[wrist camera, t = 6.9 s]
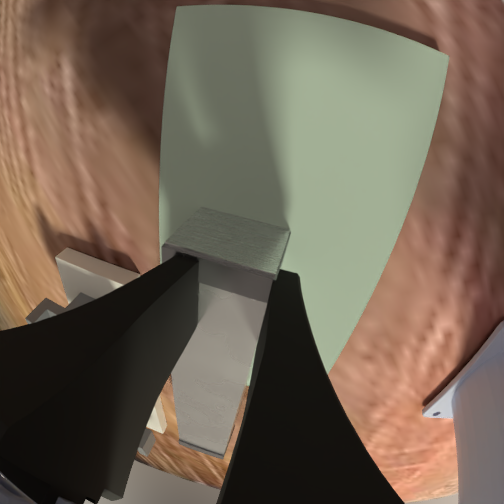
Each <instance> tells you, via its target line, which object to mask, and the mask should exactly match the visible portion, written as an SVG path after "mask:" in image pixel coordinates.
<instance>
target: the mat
mask: <svg viewBox="0 0 504 504" xmlns="http://www.w3.org/2000/svg"><path fill="white" fill-rule="evenodd" d="M448 62H449V56H448V55H446V54H444V53H441V52H439V51H437V50H435V49H433V48H430V47H428V46H425V45H423V44H421V43H418V42H416V41H413V40H410V39H408V38H405V37H402V36H400V35H397V34H394V33H391V32H388V31H385V30H382V29H379V28H375V27H372V26H369V25H365V24H361V23H358V22H354V21H350V20H346V19H341V18H337V17H332V16H328V15H323V14H317V13H312V12H306V11H299V10H292V9H284V8H275V7H264V6H249V5H192V6H177V8H176V13H175V19H174V25H173V31H172V37H171V44H170V51H169V59H168V66H167V75H166V84H165V94H164V105H163V117H162V132H161V150H160V179H159V238H160V264H162V252H161V246H162V245H163V244H164V243H165V241H166V240H167V239H168V238H169V237H170V236H171V235H172V234H173V233H174V232H175V231H176V230H177V229H178V228H179V227H180V226H181V225H182V224H183V223H185V222H186V221H187V220H188V219H189V218H190V217H191V216H192V215H193V214H194V213H195V212H196V211H197V210H198V209H199V208H200V207H205V208H210V209H214V210H218V211H222V212H225V213H229V214H233V215H237V216H241V217H245V218H249V219H253V220H257V221H260V222H264V223H268V224H272V225H275V226H279V227H283V228H287V229H290V232H291V235H290V239H289V243H288V246H287V250H286V254H285V257H284V260H283V263H282V267H281V269H282V270H286V271H290V272H294V273H298V275H299V276H300V282H301V290H302V295H303V300H304V304H305V309H306V312H307V316H308V320H309V323H310V326H311V330H312V333H313V336H314V340H315V343H316V346H317V348H318V351H319V354H320V357H321V359H322V362H323V365H324V367H325V370H326V372H327V375H328V373H329V371H330V370H331V368H332V366H333V365H334V363H335V361H336V360H337V358H338V356H339V355H340V353H341V351H342V350H343V348H344V346H345V344H346V343H347V341H348V339H349V337H350V335H351V334H352V332H353V330H354V328H355V326H356V324H357V322H358V321H359V319H360V317H361V315H362V313H363V311H364V309H365V307H366V305H367V303H368V301H369V299H370V297H371V295H372V293H373V291H374V289H375V287H376V285H377V283H378V281H379V279H380V276H381V274H382V272H383V270H384V268H385V265H386V263H387V261H388V259H389V256H390V254H391V252H392V250H393V247H394V245H395V242H396V240H397V238H398V235H399V233H400V230H401V228H402V225H403V223H404V220H405V218H406V215H407V212H408V210H409V207H410V204H411V202H412V199H413V196H414V193H415V190H416V187H417V184H418V181H419V178H420V175H421V172H422V169H423V166H424V163H425V160H426V156H427V153H428V150H429V146H430V143H431V139H432V135H433V132H434V128H435V124H436V120H437V116H438V112H439V108H440V103H441V99H442V94H443V89H444V84H445V79H446V73H447V68H448ZM252 368H253V366H252ZM251 374H252V370H251V373H250V376H249V380H248V383H247V386H249V385H250V379H251Z"/></svg>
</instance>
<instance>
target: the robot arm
mask: <svg viewBox="0 0 504 504" xmlns="http://www.w3.org/2000/svg"><path fill="white" fill-rule="evenodd" d="M198 272H199V261H196V260H193V259H189V258H186V257H182V256H179V255H175V256H174V257H172V258H170V259H169V260H167V261H165V262H164V263H162V264H160V265H159V266H157V267H155V268H153V269H152V270H150V271H148V272H146V273H145V274H143V275H141V276H140V277H138V278H136V279H134V280H132V281H130V282H128V283H127V284H125V285H123V286H121V287H119V288H117V289H115V290H113V291H111V292H110V293H108V294H106V295H104V296H101V297H99V298H97V299H95V300H93V301H91V302H88V303H86V304H84V305H81V306H79V307H77V308H74V309H72V310H69V311H66V312H64V313H61V314H58V315H55V316H52V317H49V318H46V319H43V320H40V321H38V322H34V323H31V324H27V325H24V326H20V327H16V328H12V329H8V330H3V331H0V473H1V474H2V475H3V476H4V477H5V478H6V479H5V478H3V477H2V476H1V474H0V504H83V503H84V501H85V499H87V500H88V501H90V502H92V503H94V504H97V503H98V501H99V499H100V497H101V496H102V497H104V498H106V499H109V500H111V501H114V500H118V499H121V498H123V495H124V491H125V488H126V484H127V481H128V478H129V474H130V471H131V468H132V465H133V462H134V459H135V456H136V453H137V450H138V447H139V444H140V442H141V439H142V436H143V434H144V431H145V429H146V426H147V423H148V421H149V418H150V416H151V413H152V411H153V409H154V406H155V404H156V401H157V399H158V397H159V395H160V393H161V391H162V389H163V387H164V385H165V383H166V381H167V379H168V377H169V376H170V374H171V372H172V370H173V369H174V367H175V365H176V363H177V362H178V360H179V358H180V356H181V355H182V353H183V351H184V349H185V348H186V346H187V344H188V342H189V340H190V339H191V337H192V335H193V333H194V331H195V330H196V327H197V325H198V302H199V282H198ZM422 414H423V416H424V417H432V418H453V421H454V429H455V438H456V449H457V462H458V494H459V495H458V499H459V500H458V501H459V503H458V504H504V320H503V321H502V322H501V323H500V324H499V325H498V326H497V328H496V329H495V330H494V332H493V333H492V334H491V336H490V337H489V338H488V339H487V341H486V342H485V343H484V344H483V346H482V347H481V348H480V349H479V351H478V352H477V353H476V354H475V355H474V357H473V358H472V359H471V360H470V361H469V362H468V364H467V365H466V366H465V367H464V368H463V369H462V370H461V371H460V372H459V374H458V375H457V376H456V377H455V378H454V379H453V380H452V381H451V382H450V383H449V384H448V385H447V386H446V387H445V388H444V389H443V390H442V391H441V392H440V393H439V394H438V395H437V396H436V397H435V398H434V399H433V400H432V401H431V402H430V403H429V404H428V405H426V406H425V407H424V408H423V410H422ZM216 504H405V503H404V502H403V501H402V499H401V498H400V497H399V496H398V494H397V493H396V492H395V491H394V489H393V488H392V487H391V485H390V484H389V482H388V481H387V480H386V478H385V477H384V476H383V474H382V473H381V471H380V470H379V468H378V467H377V465H376V464H375V462H374V461H373V459H372V458H371V456H370V455H369V453H368V451H367V450H366V448H365V446H364V445H363V443H362V441H361V439H360V438H359V436H358V434H357V433H356V431H355V429H354V427H353V426H352V424H351V422H350V420H349V419H348V417H347V415H346V413H345V411H344V409H343V407H342V405H341V403H340V401H339V399H338V397H337V395H336V393H335V390H334V388H333V386H332V384H331V381H330V379H329V377H328V375H327V372H326V370H325V367H324V365H323V362H322V359H321V357H320V354H319V351H318V348H317V346H316V343H315V340H314V336H313V333H312V330H311V326H310V323H309V320H308V316H307V312H306V309H305V304H304V300H303V295H302V290H301V282H300V276H299V275H298V273H294V272H290V271H286V270H282V269H280V271H279V273H278V276H277V279H276V282H272V286H271V290H270V294H269V298H268V302H267V306H266V310H265V314H264V318H263V322H262V326H261V330H260V334H259V338H258V342H257V346H256V352H255V357H254V363H253V368H252V374H251V379H250V385H249V390H248V396H247V401H246V407H245V412H244V416H243V420H242V424H241V427H240V431H239V434H238V437H237V441H236V444H235V447H234V450H233V454H232V457H231V460H230V463H229V466H228V470H227V473H226V476H225V479H224V482H223V485H222V488H221V491H220V494H219V497H218V500H217V503H216Z"/></svg>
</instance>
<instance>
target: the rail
mask: <svg viewBox="0 0 504 504" xmlns="http://www.w3.org/2000/svg"><path fill="white" fill-rule="evenodd" d="M290 235H291V232H290V229H287V228H283V227H279V226H275V225H272V224H268V223H264V222H260V221H257V220H253V219H249V218H245V217H241V216H237V215H233V214H229V213H225V212H222V211H218V210H214V209H210V208H205V207H200V208H199V209H198V210H197V211H196V212H195V213H194V214H193V215H192V216H191V217H190V218H189V219H188V220H187V221H186V222H185V223H183V224H182V225H181V226H180V227H179V228H178V229H177V230H176V231H175V232H174V233H173V234H172V235H171V236H170V237H169V238H168V239H167V240H166V241H165V243H164V244H163V245H162V246H161V252H162V263H164V262H165V261H167V260H169V259H170V258H172V257H174V256H175V255H179V256H182V257H186V258H189V259H193V260H196V261H199V272H198V282H199V302H198V325H197V327H196V330H195V331H194V333H193V335H192V337H191V339H190V340H189V342H188V344H187V346H186V348H185V349H184V351H183V353H182V355H181V356H180V358H179V360H178V362H177V363H176V365H175V367H174V369H173V370H172V372H171V375H172V385H173V393H174V402H175V410H176V417H177V424H178V431H179V438H180V439H179V444H180V445H183V446H185V447H188V448H191V449H193V450H196V451H199V452H202V453H205V454H208V455H211V456H214V457H217V458H220V459H223V458H224V455H225V452H226V450H227V447H228V444H229V441H230V439H231V436H232V433H233V430H234V427H235V422H236V419H237V415H238V412H239V409H240V406H241V403H242V399H243V396H244V393H245V390H246V386H247V383H248V380H249V376H250V373H251V370H252V366H253V363H254V357H255V352H256V346H257V342H258V338H259V334H260V330H261V326H262V322H263V318H264V314H265V310H266V306H267V302H268V298H269V294H270V290H271V286H272V282H276V279H277V276H278V273H279V271H280V269H281V267H282V263H283V260H284V257H285V254H286V250H287V246H288V243H289V239H290Z"/></svg>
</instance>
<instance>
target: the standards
mask: <svg viewBox="0 0 504 504" xmlns="http://www.w3.org/2000/svg"><path fill="white" fill-rule="evenodd" d="M55 258H56V262H57V265H58V269H59V273H60V276H61V280H62V283H63V286H64V290H65V293H66V296H67V299H68V302H69V305H68V306H67V307H66V308H64V307H62V306H60V305H58V304H56V303H55V302H53V301H51V300H49V299H47V298H45V299H44V300H43V301H42V302H41V303H40V304H39V305H38V306H37V307H36V308H35V309H34V310H33V311H32V312H31V313H30V314H29V315H28V316H27V317H26V318H25V319H26V321H27V323H28V324H31V323H34V322H38V321H40V320H43V319H46V318H49V317H52V316H55V315H58V314H61V313H64V312H66V311H69V310H72V309H74V308H77V307H79V306H81V305H84V304H86V303H88V302H91V301H93V300H95V299H97V298H99V297H101V296H104V295H106V294H108V293H110V292H111V291H113V290H115V289H117V288H119V287H121V286H123V285H125V284H127V283H128V282H130V281H132V280H134V279H136V278H138V277H140V274H138V273H135V272H133V271H130V270H127V269H124V268H121V267H118V266H116V265H113V264H110V263H107V262H105V261H102V260H99V259H97V258H94V257H91V256H89V255H86V254H83V253H81V252H78V251H75V250H73V249H70V248H68V247H67V248H66V249H64V250H63V251H62V252H60V253H59V254H58V255H57V256H56V257H55ZM146 427H149V428H151V429H153V430H155V431H158V432H160V433H162V434H163V433H164V431H165V429H166V427H167V423H166V419H165V415H164V411H163V407H162V402H161V398H160V395H159V397H158V399H157V401H156V404H155V406H154V409H153V411H152V413H151V416H150V418H149V421H148V423H147V426H146ZM155 441H156V440H155V437H154V435H153V432H152V431H151V430H149V429H147V428H146V429H145V431H144V434H143V436H142V439H141V442H140V444H139V447H138V451H139V453H141V454H143V455H145V456H147V457H148V455H149V453H150V451H151V449H152V447H153V445H154V443H155Z"/></svg>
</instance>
